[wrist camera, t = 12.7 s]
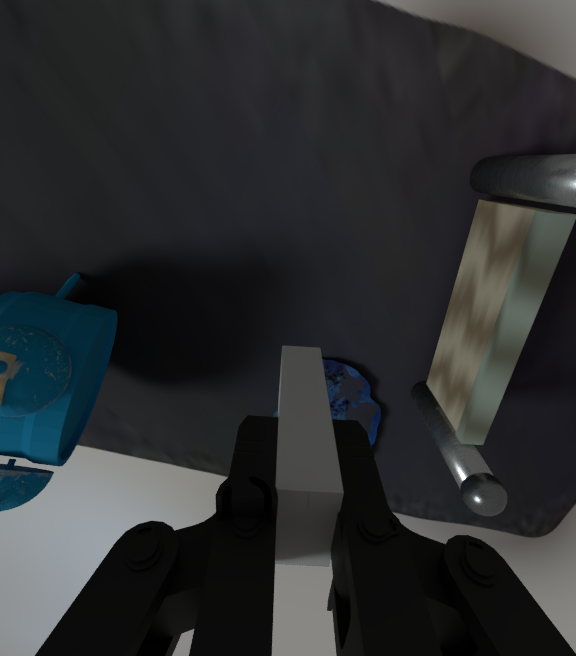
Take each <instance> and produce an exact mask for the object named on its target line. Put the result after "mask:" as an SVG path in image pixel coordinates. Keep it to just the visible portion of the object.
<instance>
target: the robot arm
mask: <svg viewBox="0 0 576 656" xmlns="http://www.w3.org/2000/svg"><path fill="white" fill-rule="evenodd" d="M330 559H331V560H332V569H333V580H332V584H331V589H330V593H329V598H328V607H327V610H328V611H332V610H333V622H334V633H335V643H336V653H337V656H576V653H575V652H574V651H573V649H572V648H571V647H570V646H569V644H568V643H567V642H566V640H565V639H564V638H563V636H562V635H561V634H560V632H559V631H558V630H557V628H556V627H555V626H554V624H553V623H552V622H551V621H550V619H549V618H548V617H547V615H546V614H545V613H544V611H543V610H542V609H541V607H540V606H539V605H538V604H537V602H536V601H535V600H534V598H533V597H532V595H531V594H530V593H529V592H528V590H527V589H526V588H525V586H524V585H523V584H522V582H521V581H520V580H519V578H518V577H517V576H516V574H515V573H514V572H513V571H512V569H511V568H510V567H509V565H508V564H507V563H506V561H505V560H504V559H503V558H502V557H501V556H500V555H499V554H498V553H497V552H496V550H494V548H492V547H491V546H489V545H488V544H486V543H485V542H483V541H482V540H480V539H477V538H474V537H471V536H469V535H456V536H454V537H452V538H451V539H448V541H447V543H446V544H443V543H440V542H438V541H435V540H432V539H429V538H427V537H424V536H421V535H419V534H417V533H415V532H412V531H410V530H409V529H408V528H406V527H405V526H403V525H402V524H401V523H400V521H399V519H398V518H397V517H396V516H395V515H394V514H393V513H392V512H391V511H390V508H389V506H388V504H387V501H386V497H385V494H384V490H383V486H382V483H381V479H380V476H379V472H378V469H377V465H376V462H375V460H374V455H373V451H372V449H371V444H370V441H369V437H368V434H367V432H366V431H365V429H364V428H363V427H362V426H361V424H360V423H359V422H358V421H355V420H337V419H332V417H331V411H330V405H329V399H328V393H327V387H326V380H325V374H324V368H323V362H322V356H321V349H320V348H313V347H297V346H282V358H281V373H280V388H279V403H278V417H267V416H249V415H248V416H247V417H246V418H245V419H244V421H243V422H242V423H241V424H240V426H239V429H238V434H237V439H236V444H235V449H234V454H233V459H232V464H231V469H230V474H229V477H228V478H227V479H226V480H225V481H224V482H223V483H222V484H221V485H220V487H219V489H218V491H217V494H216V513H215V514H214V515H213V516H212V517H210V518H209V519H207V520H206V521H204V522H201V523H199V524H196V525H193V526H190V527H186V528H182V529H179V530H175V531H174V530H173V528H172V527H171V526H169V525H167V524H165V523H164V522H158V521H149V522H145V523H141V524H138V525H136V526H135V527H133V528H131V529H130V530H128V531H126V532H125V533H124V534H123V535H122V536H121V537H120V538H119V540H118V541H117V542H116V543H115V544H114V545H113V547H112V548H111V550H110V551H109V553H108V554H107V555H106V557H105V558H104V560H103V561H102V562H101V564H100V565H99V567H98V568H97V569H96V571H95V572H94V574H93V575H92V576H91V578H90V579H89V581H88V582H87V583H86V585H85V586H84V588H83V589H82V590H81V592H80V594H79V595H78V596H77V597H76V599H75V601H74V602H73V603H72V604H71V606H70V607H69V609H68V610H67V612H66V613H65V614H64V616H63V617H62V618H61V620H60V621H59V623H58V624H57V626H56V627H55V628H54V630H53V631H52V632H51V634H50V635H49V637H48V638H47V639H46V641H45V642H44V644H43V645H42V646H41V648H40V649H39V651H38V652H37V653H36V655H35V656H172V654H173V652H174V650H175V648H176V645H177V643H178V641H179V638H180V636H181V634H182V633H184V632H187V631H189V630H192V629H194V634H193V639H192V644H191V649H190V653H189V656H271V655H272V628H273V602H274V573H275V564H285V565H307V566H329V564H330Z"/></svg>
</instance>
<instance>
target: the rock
mask: <svg viewBox="0 0 576 656" xmlns="http://www.w3.org/2000/svg"><path fill="white" fill-rule="evenodd" d="M322 362H323V368H324V374H325V380H326V387H327V393H328V399H329V405H330V411H331V417H332V419H337V420H347V415H344V414H347V405H348V404H349V402H348V400H347V399H346V397H345V396H344V397H343V398H341V399H340V400H338V399H334V397H335V396H336V395H337V394H339V393H340V392H341V391H340V389H339V386H340V385H342V384H338V382H339V380H340V379H341V377H342V375H343V373H342V369H343V368H346V369H347V370H348V372H349V374H350V375H351V376H353V377H355V378H360V379H364V380H365V382H366V384H365V386H364V388H363V390H362V392H361V391H358V392H357V394H359V393H360V392H361V397H360V399H359V403H363V402H369V403H376V402H374V401H373V400H372V399H371V397H370V385H369V384H368V382H367V381H366V379H365V378H364V377H362V376H361V375H360V374H359V372H358V371H357V370H355V369H354V368H352V367H349V366H348V365H346V364H342V363H339V362H336V361H333V360H325V359H322ZM343 378H344V379H346V377H343ZM350 394H351V395H352V393H350ZM351 404H352V405H353V408H354V409H357V408H358V403H356V402H355V400H354V401H353V402H351ZM378 409H379V411H378V412H377V413H375V415H374V416H373V417H372V419H373V422H372V423H371V429H372V431H371V432H370V434H369V436H368V437H369V441H370V444H371V447H372V445H373V444H374V442H375V437H376V435H377V427H378V425H379V423H380V419H381V410H380V407H379V405H378ZM343 412H344V413H343ZM342 415H343V417H342ZM271 417H278V410H277V411H276V412H275V413H274V414H273V416H271Z"/></svg>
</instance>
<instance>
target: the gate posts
mask: <svg viewBox="0 0 576 656" xmlns="http://www.w3.org/2000/svg"><path fill="white" fill-rule="evenodd" d="M470 184H471V187H472V188H473V189H474V190H475V191H476V192H478V193H484V194H491V195H497V196H504V197H511V198H517V199H524V200H530V201H537V202H544V203H550V204H557V205H564V206H570V207H576V154H560V155H532V156H505V157H487V158H484V159H482V160H480V161H479V162H478V163H477V164H476V165H475V166H474V167H473V169H472V171H471V174H470ZM426 383H427V381H422V382H419V383H417V384H415V385H414V386H413V388H412V390H411V396H412V398H413V400H414V401H415V403H416V405H417V407H418V409H419V411H420V413H421V415H422V417H423V419H424V421H425V422H426V424H427V426H428V428H429V430H430V432H431V434H432V436H433V438H434V440H435V442H436V444H437V445H438V447H439V449H440V451H441V453H442V455H443V457H444V459H445V461H446V463H447V465H448V466H449V468H450V470H451V472H452V474H453V476H454V478H455V480H456V482H457V484H458V486H459V488H460V491H461V496H462V498H463V500H464V502H465V504H466V505H467V506H468V507H469V508H470V509H471V510H472V511H474V512H476V513H477V514H480V515H483V516H494V515H497V514H499V513H500V512H502V511H503V510H504V508H505V506H506V503H507V494H506V490H505V488H504V486H503V485H502V483H501V482H500V481H499V480H498V479H497V478H496V477H495V476H494V475H493V474H492V472H491V471H490V469H489V468H488V466H487V465H486V463H485V461H484V460H483V458H482V457H481V455H480V454H479V452H478V451H477V449H476V448H475V446H474V445H473V444H461V443H460V441H459V440H458V438H457V436H456V435H455V434H456V431H455V429H454V427H453V426H452V424H451V422H450V421H449V419H448V418H447V416H446V414H445V413H444V411H443V410H442V408H441V406H440V405H439V403H438V401H437V400H436V398H435V397H434V395H433V393H432V392H431V390H430V389H429V387H428V385H427V384H426Z"/></svg>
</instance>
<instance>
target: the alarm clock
mask: <svg viewBox="0 0 576 656" xmlns="http://www.w3.org/2000/svg"><path fill="white" fill-rule="evenodd" d="M79 278H80V275H79V274H77V273H75V274H74V275H73V276H72V277H70V278H69V279H68V280H67V282H66V283H65V284H64V285H63V286H62V288H61V289H60V290H59V291H58V293H57V294H56V295H55V296H50V295H46V294H42V293H39V292H33V291H30V292H25V293H21V292H16V291H11V292H7V293H3V294H2V295H0V455H4V456H11V457H19V458H26V459H27V460H29V461H31V462H33V463H38V464H46V465H53V466H63V465H64V464H65V463H66V461H67V460H68V459H69V457H70V456H71V454H72V452H73V451H74V449H75V447H76V445H77V443H78V441H79V439H80V437H81V435H82V433H83V431H84V429H85V426H86V424H87V422H88V419H89V417H90V415H91V412H92V410H93V407H94V404H95V402H96V399H97V396H98V394H99V391H100V388H101V385H102V382H103V379H104V376H105V373H106V370H107V366H108V363H109V359H110V356H111V352H112V348H113V344H114V339H115V335H116V329H117V319H118V318H117V312H116V311H115V310H112V309H108V308H104V307H101V306H97V305H92V304H91V305H83V304H79V303H76V302H72V301H68V300H65V298H66V297H67V295H68V294H69V293H70V292H71V290H72V289H73V288H74V286H75V285H76V284H77V282H78V280H79ZM15 461H16V459H9V462H8V464H7V465H6V464H0V511H4V510H9V509H12V508H15V507H18V506H20V505H22V504H24V503H26V502H28V501H30V500H31V499H32V498H34V497H35V496H37V495H38V494H39V493H40V492H41V491H42V490H43V489H44V488H45V486H46V485H47V484H48V482H49V481H50V479H51V477H52V475H53V473H54V472H52V471H47V470H42V469H37V468H29V467H22V466H14V463H15Z"/></svg>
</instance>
